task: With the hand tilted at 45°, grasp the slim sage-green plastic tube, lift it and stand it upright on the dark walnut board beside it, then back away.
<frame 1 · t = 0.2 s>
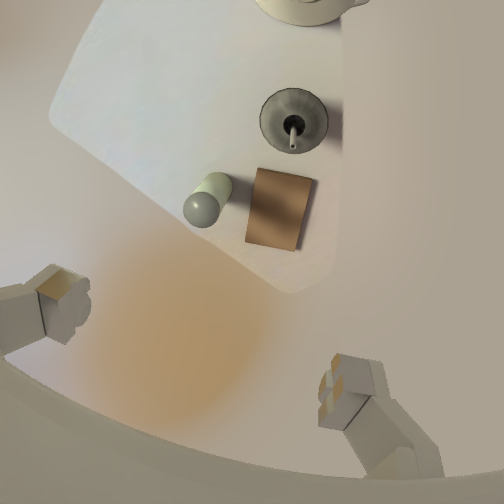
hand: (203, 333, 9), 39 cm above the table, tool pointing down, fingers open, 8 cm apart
walnut board: (277, 209, 49), on the table
beverage cup: (293, 112, 41), on the table
sage tube: (217, 186, 48), on the table
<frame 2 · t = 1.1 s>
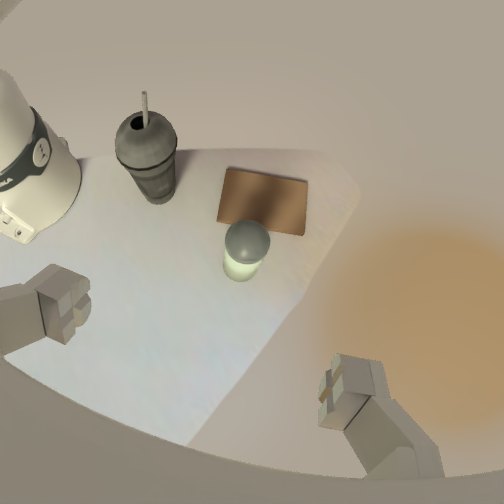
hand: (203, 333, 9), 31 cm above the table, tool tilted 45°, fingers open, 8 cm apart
walnut board: (263, 202, 45), on the table
beverage cup: (159, 191, 44), on the table
sage tube: (240, 265, 42), on the table
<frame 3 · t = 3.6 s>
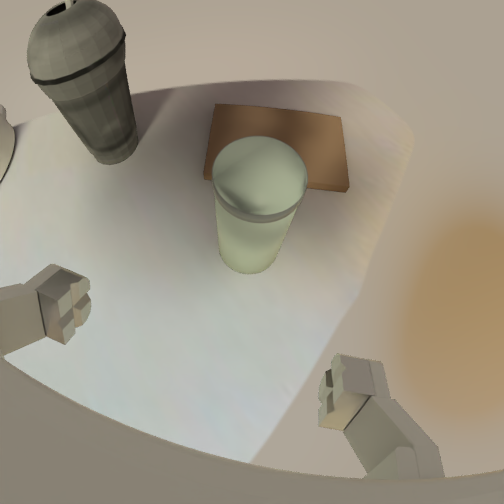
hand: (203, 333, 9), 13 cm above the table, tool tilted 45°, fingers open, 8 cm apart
walnut board: (277, 147, 28), on the table
beverage cup: (115, 146, 27), on the table
sage tube: (248, 245, 24), on the table
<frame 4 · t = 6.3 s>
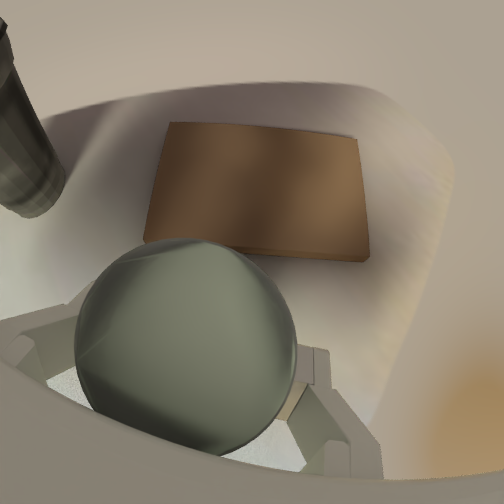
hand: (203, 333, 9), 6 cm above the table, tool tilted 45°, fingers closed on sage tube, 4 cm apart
walnut board: (260, 189, 19), on the table
beverage cup: (39, 189, 18), on the table
sage tube: (210, 356, 15), on the table, touching gripper
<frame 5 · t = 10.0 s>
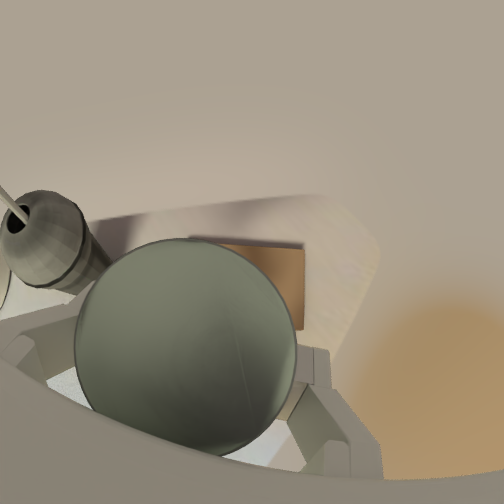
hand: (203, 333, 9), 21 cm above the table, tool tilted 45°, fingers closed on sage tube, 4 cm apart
walnut board: (242, 287, 32), on the table
beverage cup: (100, 280, 31), on the table
sage tube: (210, 356, 15), point 15 cm above the table, touching gripper
when the fingers open (9 cm above the table, at t = 14.2 s): sage tube drops 1 cm, resting on walnut board.
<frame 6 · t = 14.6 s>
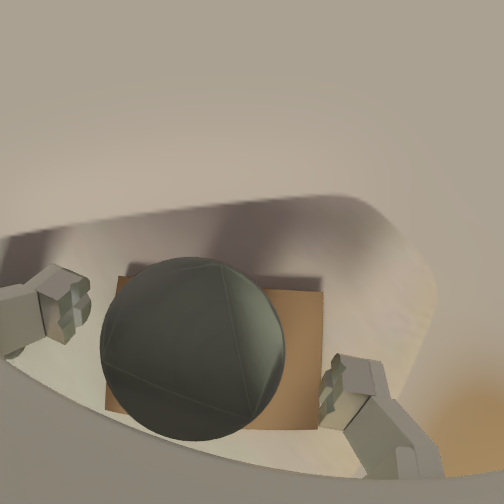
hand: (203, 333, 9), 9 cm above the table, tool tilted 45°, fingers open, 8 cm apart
walnut board: (213, 356, 18), on the table
sage tube: (212, 356, 17), point 1 cm above the table, touching walnut board
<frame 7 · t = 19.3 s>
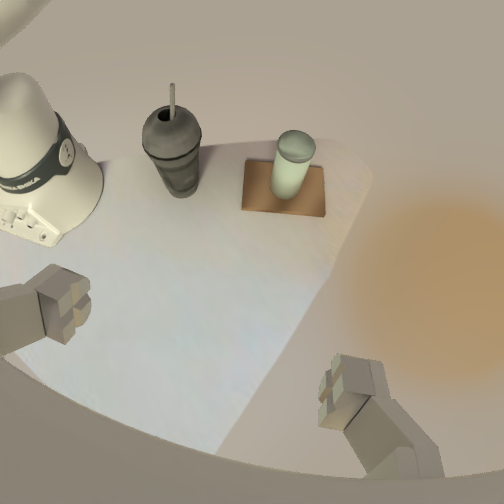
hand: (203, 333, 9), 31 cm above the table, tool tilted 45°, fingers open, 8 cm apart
walnut board: (283, 189, 47), on the table
beverage cup: (183, 185, 47), on the table
sage tube: (284, 185, 46), point 1 cm above the table, touching walnut board
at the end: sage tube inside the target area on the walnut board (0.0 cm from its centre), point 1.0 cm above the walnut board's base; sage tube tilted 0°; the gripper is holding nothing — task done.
